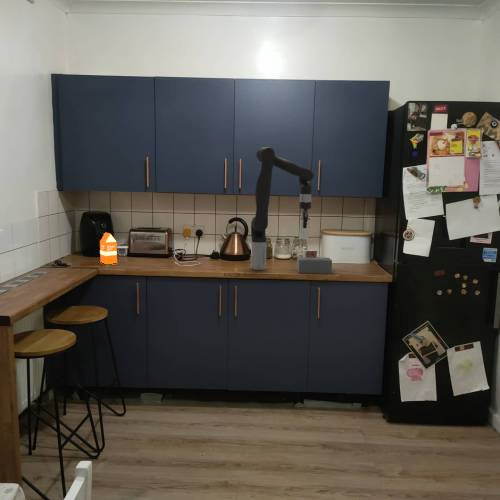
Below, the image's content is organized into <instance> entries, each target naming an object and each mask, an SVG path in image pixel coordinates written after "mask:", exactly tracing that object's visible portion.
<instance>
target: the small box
mask: <svg viewBox="0 0 500 500" xmlns="http://www.w3.org/2000/svg"><path fill="white" fill-rule="evenodd" d="M302 257H311V258H318V251H317V250H316V249H303V250H302Z"/></svg>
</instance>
